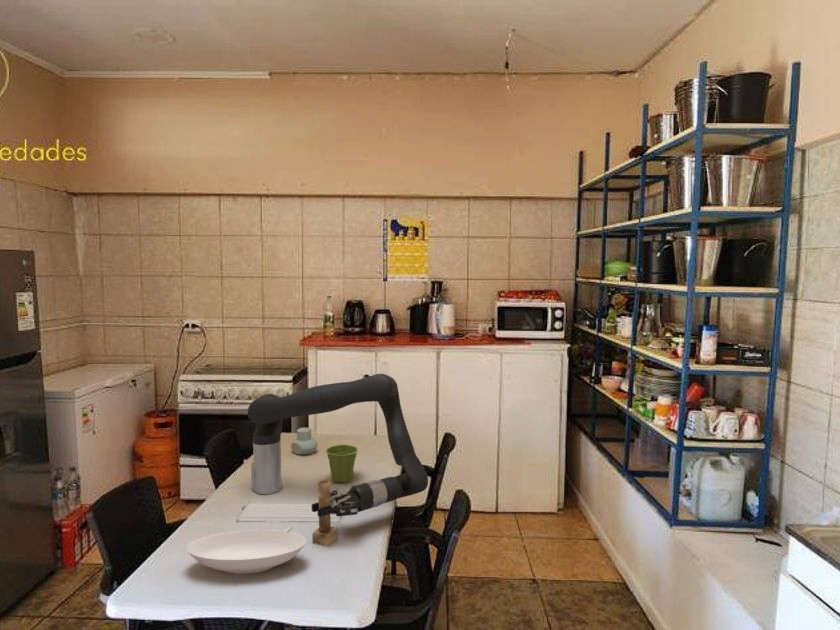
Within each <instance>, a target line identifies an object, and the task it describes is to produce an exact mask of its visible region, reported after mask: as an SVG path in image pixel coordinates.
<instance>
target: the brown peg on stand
mask: <svg viewBox="0 0 840 630" xmlns="http://www.w3.org/2000/svg"><path fill="white" fill-rule="evenodd" d="M317 485H318V491H317V492H318V502H319V508H322V507H326V506H329V505H330V504H331V503H330V493H331V482H330V480H328V477H327V476H322V477H321V478H320V480H319V481H318V482H317ZM331 524H332V522H331V518H330V514H329V515H325V516H322V517H319V522H318V527H317V528H316V529H315V530H314V531H313V532H312V544H315V543H317V544H316V545H320V544H322V546H324V545H326V547H330V545H331V544H333V543H334V542H335V539H336V538H337V539H338V527H335V526H331ZM337 539H336V540H337Z"/></svg>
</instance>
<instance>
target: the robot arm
mask: <svg viewBox="0 0 840 630" xmlns="http://www.w3.org/2000/svg"><path fill="white" fill-rule="evenodd" d="M399 393H400V392H399V387H398V383H397V381H396V380H395V378H393V377H392V376H390V375H387V374H385V373H375V374H373V375H370V376H367V377H363V378H360V379H357V380H356V379H355V380H353V381H352V380H351V381H346V382H345V381H344V382H343V381H342V382H337V383H335V382H334V383H326V384H322V385H316V386H311V387H308V388H305V389H302V390H299V391H297V392H294V393H291V394H288V395H285V396H279V397H278V396H277V395H276V394H273V393H266V394H263V395H260V396H259V397H257V398H256V399H254V400H253V401H252V402H251V403H250V404H249V405H248V407H247V413H246V414H247V417H248V419H249V420H250V421H251V422H253V424H256V428H255V431H254V432H253V435H252V448H253V453H252V455H253V460H252V461H253V462H252V463H251V464H250V469H251V471H250V472H251V491H254V493H256V494H260V495H271V494H275V493H277V492H280V491H281V490H282V488H283V487H282V447H281V445H282V444H281V443H282V441H281V437H282V436H281V435H282V432H283V423H284V422H283V420H284V419H288V418H289V419H290V418H295V417H297V418H298V417H304V416H312V415H318V414H319V415H320V414H324V413H330V412H334V411H337V410H341V409H342V408H345V407H347V406H350V405H353V404H358V403H367V402H368V403H369V402H371V403H372V402H378V404H379V407H380V408H381V411H382V414H383V417H384V419H385V424H386V431H387V440H388V443H389V447H390V449H391V453H392V457H393V460H394V462H395V464H396V465H397V466H400V467H402V468H403V470H404V472H403V473H402V474H399V475H395V476H389V477H388V476H387V477H384V478H381V479H377V480H376V479H375V480H370V481H366V482H362V483H359V484H356V485H353V486H351V487H350V488H349V491H347V492H342V493H338V490H332V491H330V505H329V506H326V507H322V508H319V501H318V502H314V503H311V504H312V511H313V512H316V511H317V515H318V516H319V517H322V516H325V515H329V514H332V515H334V514H336V516H341V517H347V516H353V515H354V516H355V515H358V513H360V512H364V511H366V510H367V511H368V510H370V509H373V508H377V507H379V506H381V505H384V504H387V503H389V502H392V501H395V500H397V499H402V498H406V497H410V496H412V495H416V494H418V493H422V492H425V490H426V489H427V488H428V485H429V477H428V473H427V471H426V469H425V467H424V466H423V464H422V462H421V461H420V459H419V458H418V456H417V454H416V451H415V448H414V446H413V445H414V444H413V442H412V439H411V435H410V432H409V429H408V428H407V424H406V421H405V417H404V414H403V410H402V405H401V400H400V394H399Z"/></svg>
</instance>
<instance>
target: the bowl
mask: <svg viewBox="0 0 840 630" xmlns="http://www.w3.org/2000/svg"><path fill="white" fill-rule="evenodd" d="M306 544H307V539H306V537H305V536H303V535H302V534H299V533H295V532H290V531H288V532H287V531H285V530H278V529H249V530H247V529H244V530H236V531H228V532H226V531H225V532H222V533H216V534H212V535H208V536H207V535H206V536H204V537H200V538H199V539H195V540H193V541H192V542H190V543H189V544H188V545H187V546H186V551H187V553H188V554H189V555H190V556H191V557H192V558H193V559H194V560H195V561H196V562H198V563H200V564H201V565H203V566H206V567H208V568H210V569H214V570H218V571H222V572H224V573H227V574H236V575H242V574H243V575H247V574H256V573H261V572H265V571H268V570H270V569H273V568H274V567H277V566H280V565H281V564H284V563H286V562H288V561H290V560H291V559H293V558H294V557H296V555H298V554H299V553H300V552H301V551H302V549H303V548H305V546H306Z"/></svg>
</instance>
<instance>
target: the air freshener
mask: <svg viewBox="0 0 840 630" xmlns="http://www.w3.org/2000/svg"><path fill="white" fill-rule="evenodd" d="M318 446H319V445H318V442H317V441H316V439H314V438H312V429H311V427H300V428H298V429H297V430H296V439H294V440H293V441H292V442H291V445H290V448H291V450H292V451H293V453H294V454H297V455H298V456H304V455H305V456H306V455H309V454H310V455H311V454H312V453H314V452H315V451H316V450H317V448H318Z"/></svg>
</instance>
